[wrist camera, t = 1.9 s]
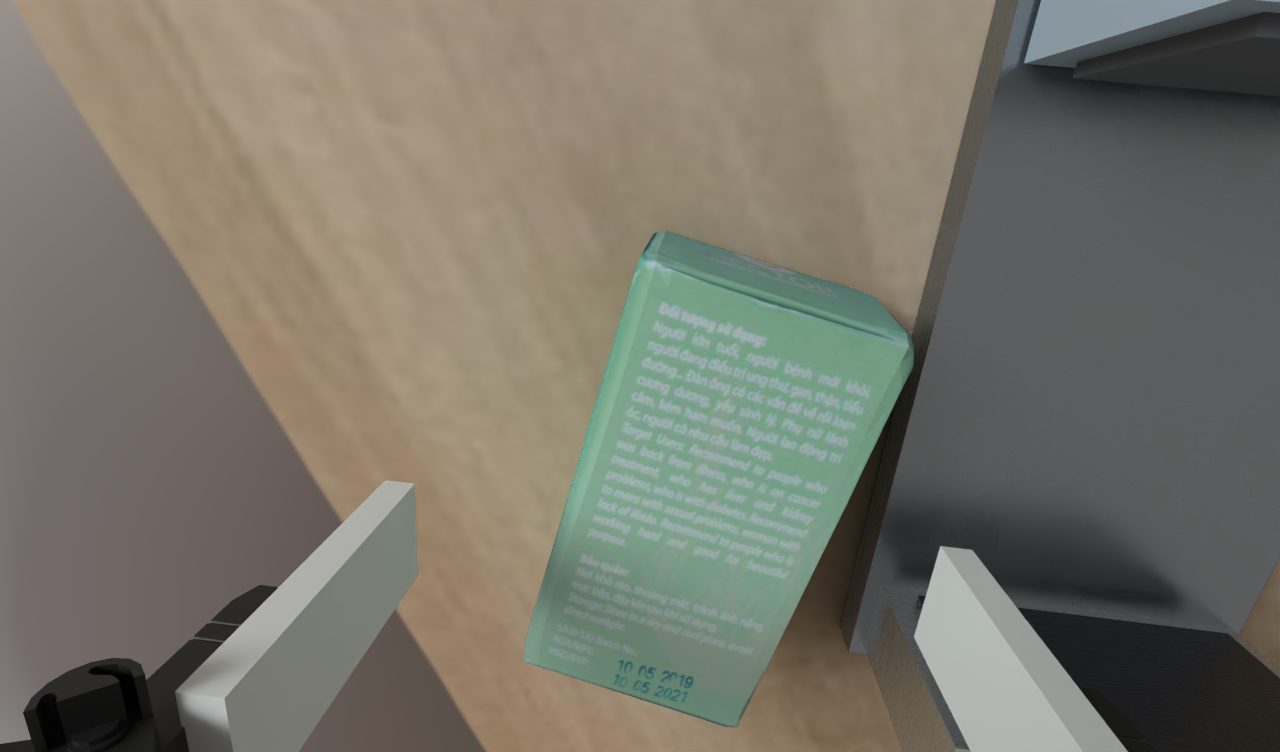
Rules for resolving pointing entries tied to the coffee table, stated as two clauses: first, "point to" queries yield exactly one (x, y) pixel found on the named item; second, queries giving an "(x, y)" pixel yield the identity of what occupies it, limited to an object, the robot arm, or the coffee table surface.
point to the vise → (1094, 400)
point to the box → (712, 474)
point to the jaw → (1163, 42)
